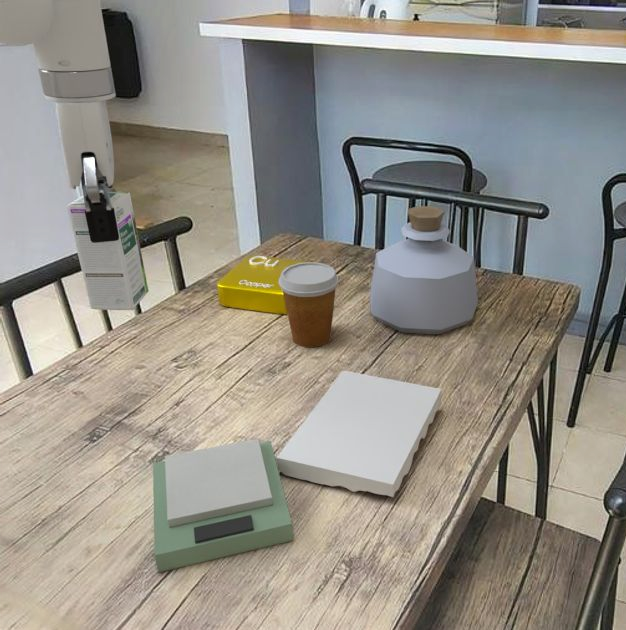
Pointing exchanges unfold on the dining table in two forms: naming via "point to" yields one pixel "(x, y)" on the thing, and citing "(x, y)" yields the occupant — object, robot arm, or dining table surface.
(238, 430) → the dining table surface
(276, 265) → the element tile
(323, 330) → the disposable coffee cup
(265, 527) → the scale
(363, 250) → the dining table surface
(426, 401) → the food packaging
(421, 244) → the bottle
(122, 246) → the syrup box
